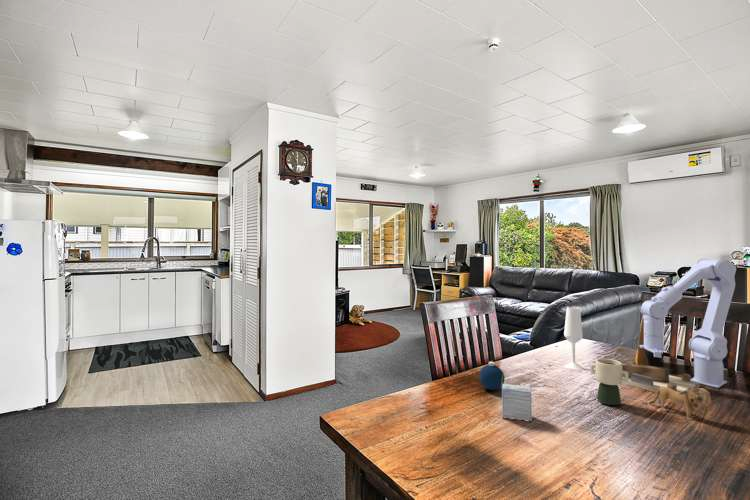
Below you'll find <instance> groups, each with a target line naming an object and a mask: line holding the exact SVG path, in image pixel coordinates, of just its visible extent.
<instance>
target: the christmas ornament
mask: <svg viewBox="0 0 750 500" xmlns="http://www.w3.org/2000/svg"><path fill="white" fill-rule="evenodd" d="M478 379H479V382H480V384H481V385H482V387H484V388H485V389H486V390H489V389H490V390H489V391H497V390H499V389H502V384H505V374H504V371H503V370H502V369H501V368H500V367H499V366H498V365H495V362H494V361H493V360H492V359H491V360H490V361H488V364H486V365H484V366H483V367H482V368H481V369H480V370H479V373H478Z"/></svg>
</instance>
